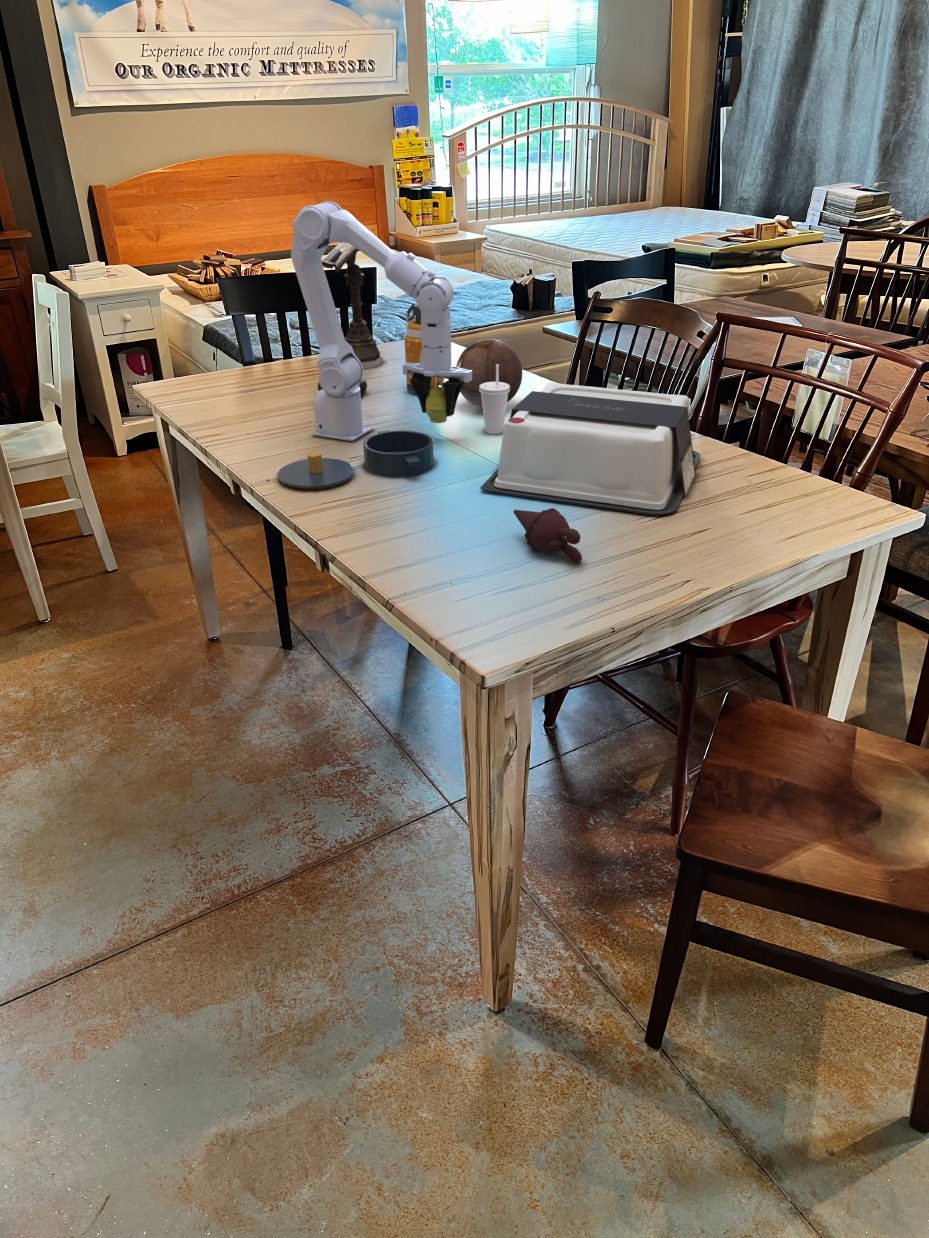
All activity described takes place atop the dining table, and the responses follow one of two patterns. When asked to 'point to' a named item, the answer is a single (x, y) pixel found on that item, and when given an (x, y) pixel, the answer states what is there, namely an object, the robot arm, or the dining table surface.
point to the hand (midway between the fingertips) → (438, 413)
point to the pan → (398, 453)
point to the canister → (415, 345)
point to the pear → (436, 404)
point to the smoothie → (494, 404)
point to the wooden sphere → (489, 368)
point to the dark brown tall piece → (355, 305)
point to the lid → (315, 472)
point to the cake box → (598, 449)
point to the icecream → (549, 532)
